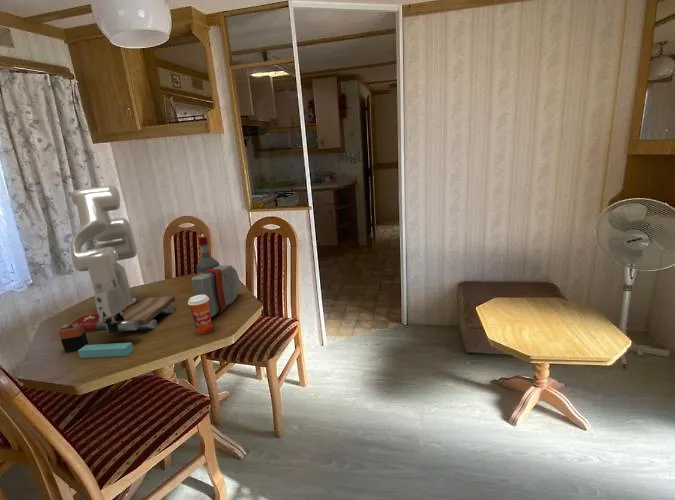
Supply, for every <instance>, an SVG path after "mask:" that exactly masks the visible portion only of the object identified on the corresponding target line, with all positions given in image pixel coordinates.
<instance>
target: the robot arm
mask: <svg viewBox="0 0 675 500" xmlns="http://www.w3.org/2000/svg"><path fill="white" fill-rule="evenodd" d="M70 198H71V201H72V202H73V203H74V205H75V206H76V207H77V211H78V215H79V216H78V217H79V222H80V228H79V229H78V230H77V231H76V233H75V234H74V235H73V238H72V240H71V243H70V253H71V260H72V265H73V266H74V269H75V270H76V271H79V272H88V273H89V277H90V281H91V284H92V287H93V288H92V289H93V291H94V302H95V308H96V310H97V313H98V314H99V316H100V317H99V322H104V323H105V324H107V326H108V329H109V332H108V333H109V334H118V333H119V331H118V329H117V325H116V323H114V316H116V317H117V318H115V321H124V310H126V308H127V307H129V306H132V305H134V304H135V303H137V298H136V297H133V296H132V292H131V288H130V285H129V281H128V276H127V272H126V269H125V267H124V266H123V265H121V264H120V263H119V261H123V260H128V259H132V258H135V257H136V256H137V254H138V250H137V245H136V241H135V238H134V233H133V231H132V227H131V224H130V222H129V220H128V219H127V218H124V217H119V218H118V217H117V218H113V219H111V218H110V216H109V212H111V211H117V210H118V209H120V208H121V196H120V193H119V191H118V188H117V187H115V186H114V185H103V186H96V187H95V186H94V187H85V188H79V189H75V190H72V191H71V193H70ZM92 239H94V241H96V242H101V243H98V244H97V245H96V246H94V248H91V249H86V250H83V251H82V250H81V249H82V247H83V245H84V244H85V243H87V242H88V241H90V240H92ZM102 242H103V243H102ZM108 318H110V319H108Z"/></svg>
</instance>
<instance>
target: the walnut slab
mask: <svg viewBox="0 0 675 500" xmlns="http://www.w3.org/2000/svg"><path fill="white" fill-rule="evenodd" d="M175 301H176V298H175V295H173V296H158V297H157V296H156V297H144V299H142V300H140V301H139V302H138V303H136V304H135V305H133V306H132V307H131V308H129V309H127V310H128V311H126V312H125V313H124V321H127V320H137V321H138V322H139V325H145V324H147V323H148V322H149V321H150V320H154V318H156V317H157V315H160V314H159V313H160V312H161V311H163V310H164V309H165V308H166V307H167V306H169V305H172V304H173V302H175ZM114 321H115V320H114Z"/></svg>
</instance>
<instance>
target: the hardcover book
mask: <svg viewBox="0 0 675 500" xmlns="http://www.w3.org/2000/svg"><path fill="white" fill-rule="evenodd" d="M128 310H129V309H124V313H125V312H126V311H128ZM99 317H100V316H99V314H98V312H93V313H92V312H91V313H90V312H89V313H85V314H81V315H80V316H77V318H75V319H74V320H72V321H70V322H69V323H68V324H67V325H73V324H76V323H77V324H81V323H82V324H83V326H84V330H85V333H89V332H96V330H95V325H96V324H97V323H98V322H99ZM115 318H117V317H116V316H114V320H115ZM108 319H110V318H108Z"/></svg>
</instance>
